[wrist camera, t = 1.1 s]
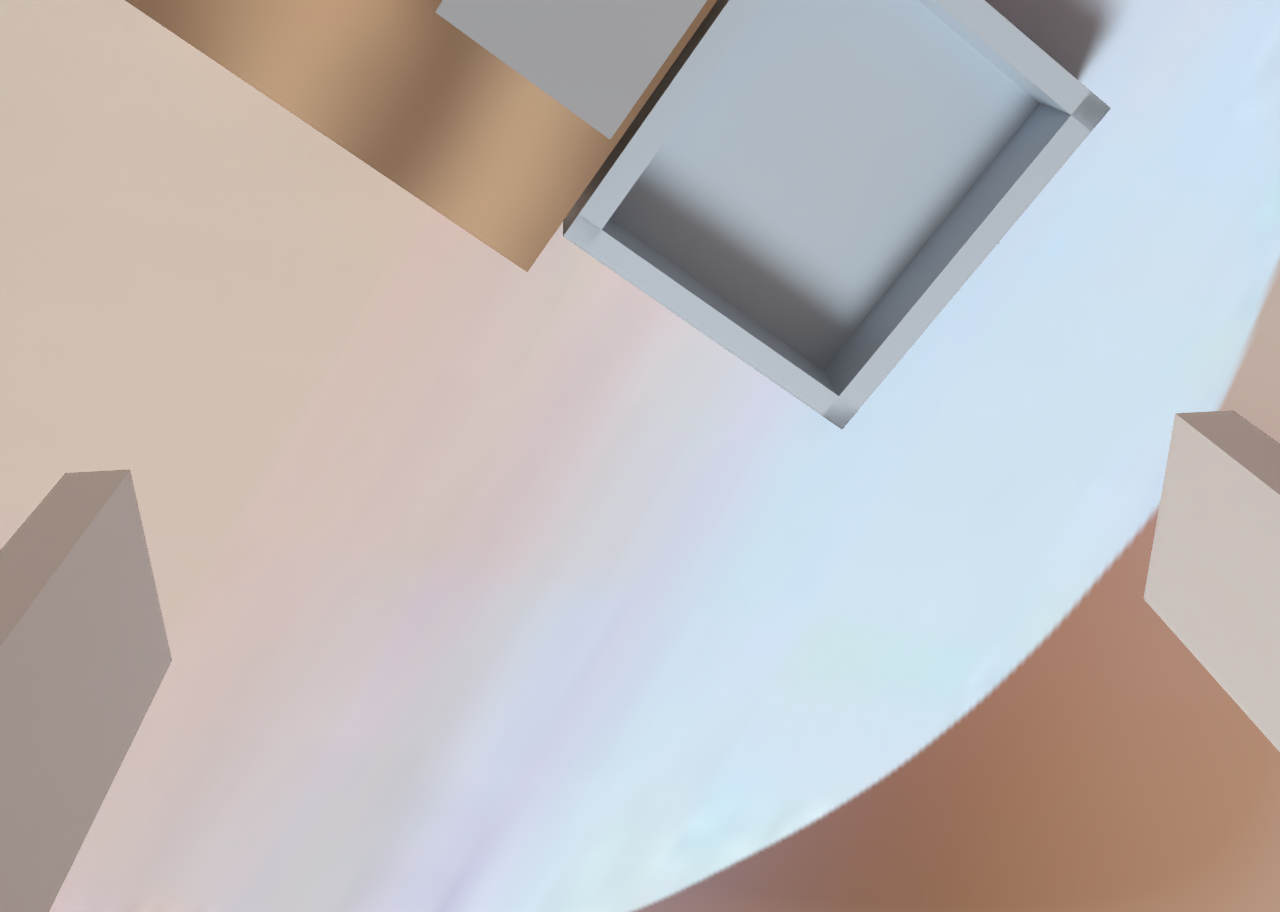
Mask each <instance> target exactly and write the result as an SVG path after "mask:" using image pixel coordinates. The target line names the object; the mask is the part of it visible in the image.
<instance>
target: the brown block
mask: <svg viewBox="0 0 1280 912" xmlns="http://www.w3.org/2000/svg"><path fill="white" fill-rule="evenodd" d="M125 1H127V2H128V3H130V4H131V5H133V6H134V7H136V8H137V9H139V10H140V11H142V12H143V13H145V14H146V15H148V16H149V17H151V18H152V19H154V20H155V21H157V22H158V23H160V24H161V25H162V26H164V27H165V28H167V29H168V30H170V31H171V32H173V33H174V34H176V35H177V36H179V37H180V38H182V39H183V40H185V41H186V42H188V43H189V44H191V45H192V46H194V47H195V48H197V49H198V50H199V51H201V52H202V53H204V54H205V55H207V56H208V57H210V58H211V59H213V60H214V61H216V62H217V63H219V64H220V65H222V66H223V67H225V68H226V69H228V70H229V71H231V72H232V73H233V74H235V75H236V76H238V77H239V78H241V79H242V80H244V81H245V82H247V83H248V84H250V85H251V86H253V87H254V88H256V89H257V90H259V91H260V92H262V93H263V94H265V95H266V96H268V97H269V98H270V99H272V100H273V101H275V102H276V103H278V104H279V105H281V106H282V107H284V108H285V109H287V110H288V111H290V112H291V113H293V114H294V115H296V116H297V117H299V118H300V119H302V120H303V121H304V122H306V123H307V124H309V125H310V126H312V127H313V128H315V129H316V130H318V131H319V132H321V133H322V134H324V135H325V136H327V137H328V138H330V139H331V140H333V141H334V142H336V143H337V144H339V145H340V146H341V147H343V148H344V149H346V150H347V151H349V152H350V153H352V154H353V155H355V156H356V157H358V158H359V159H361V160H362V161H364V162H365V163H367V164H368V165H370V166H371V167H373V168H374V169H376V170H377V171H378V172H380V173H381V174H383V175H384V176H386V177H387V178H389V179H390V180H392V181H393V182H395V183H396V184H398V185H399V186H401V187H402V188H404V189H405V190H407V191H408V192H410V193H411V194H412V195H414V196H415V197H417V198H418V199H420V200H421V201H423V202H424V203H426V204H427V205H429V206H430V207H432V208H433V209H435V210H436V211H438V212H439V213H441V214H442V215H444V216H445V217H447V218H448V219H449V220H451V221H452V222H454V223H455V224H457V225H458V226H460V227H461V228H463V229H464V230H466V231H467V232H469V233H470V234H472V235H473V236H475V237H476V238H478V239H479V240H481V241H482V242H484V243H485V244H486V245H488V246H489V247H491V248H492V249H494V250H495V251H497V252H498V253H500V254H501V255H503V256H504V257H506V258H507V259H509V260H510V261H512V262H513V263H515V264H516V265H518V266H519V267H520V268H522V269H523V270H525V271H526V272H528V270H529V269H530V268H531V266H532V265H533V263H534V262H535V260H536V259H537V257H538V256H539V255H540V253H541V252H542V250H543V249H544V247H545V246H546V245H547V243H548V242H549V240H550V239H551V237H552V236H553V235H554V233H555V232H556V230H557V229H558V227H559V226H560V225H561V223H562V222H563V220H564V219H565V217H566V216H567V215H568V213H569V212H570V210H571V209H572V207H573V206H574V205H575V203H576V202H577V200H578V199H579V197H580V196H581V195H582V193H583V192H584V190H585V189H586V187H587V186H588V185H589V183H590V182H591V180H592V179H593V177H594V176H595V175H596V173H597V172H598V170H599V169H600V167H601V166H602V165H603V163H604V162H605V160H606V159H607V157H608V156H609V155H610V153H611V152H612V150H613V149H614V147H615V146H616V145H617V143H618V142H619V140H620V139H621V137H622V136H623V135H624V133H625V132H626V130H627V129H628V127H629V126H630V125H631V123H632V122H633V120H634V119H635V117H636V116H637V115H638V113H639V112H640V110H641V109H642V107H643V106H644V105H645V103H646V102H647V100H648V99H649V97H650V96H651V95H652V93H653V92H654V90H655V89H656V87H657V86H658V85H659V83H660V82H661V80H662V79H663V77H664V76H665V75H666V73H667V72H668V70H669V69H670V67H671V66H672V65H673V63H674V62H675V60H676V59H677V57H678V56H679V55H680V53H681V52H682V50H683V49H684V47H685V46H686V45H687V43H688V42H689V40H690V39H691V37H692V36H693V35H694V33H695V32H696V30H697V29H698V27H699V26H700V25H701V23H702V22H703V20H704V19H705V17H706V16H707V15H708V13H709V12H710V10H711V9H712V7H713V6H714V5H715V3H716V2H717V0H707V2H706V3H705V4H704V6H703V7H702V9H701V10H700V12H699V13H698V14H697V16H696V17H695V19H694V20H693V22H692V23H691V24H690V26H689V27H688V29H687V30H686V32H685V33H684V35H683V36H682V37H681V39H680V40H679V42H678V43H677V45H676V46H675V47H674V49H673V50H672V52H671V53H670V55H669V56H668V57H667V59H666V60H665V62H664V63H663V65H662V66H661V68H660V69H659V70H658V72H657V73H656V75H655V76H654V78H653V79H652V80H651V82H650V83H649V85H648V86H647V88H646V89H645V90H644V92H643V93H642V95H641V96H640V98H639V99H638V101H637V102H636V103H635V105H634V106H633V108H632V109H631V111H630V112H629V113H628V115H627V116H626V118H625V119H624V121H623V122H622V123H621V125H620V126H619V128H618V129H617V131H616V132H615V134H614V135H613V136H612V138H611V139H608V138H607V137H606V136H604V135H603V134H602V133H600V132H599V131H597V130H596V129H595V128H593V127H592V126H591V125H589V124H588V123H586V122H585V121H584V120H582V119H581V118H580V117H578V116H577V115H575V114H574V113H573V112H571V111H570V110H569V109H567V108H566V107H564V106H563V105H562V104H560V103H559V102H558V101H556V100H555V99H554V98H552V97H551V96H549V95H548V94H547V93H545V92H544V91H543V90H541V89H540V88H538V87H537V86H536V85H534V84H533V83H532V82H530V81H529V80H527V79H526V78H525V77H523V76H522V75H521V74H519V73H518V72H516V71H515V70H514V69H512V68H511V67H510V66H508V65H507V64H506V63H504V62H503V61H501V60H500V59H499V58H497V57H496V56H495V55H493V54H492V53H490V52H489V51H488V50H486V49H485V48H484V47H482V46H481V45H479V44H478V43H477V42H475V41H474V40H473V39H471V38H470V37H468V36H467V35H466V34H464V33H463V32H462V31H460V30H459V29H457V28H456V27H455V26H453V25H452V24H451V23H449V22H448V21H447V20H445V19H444V18H442V17H441V16H440V15H438V14H437V13H436V10H437V9H438V7H439V5H440V4H441V2H442V1H443V0H125Z"/></svg>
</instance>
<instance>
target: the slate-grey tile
mask: <svg viewBox="0 0 1280 912" xmlns="http://www.w3.org/2000/svg"><path fill="white" fill-rule="evenodd" d="M706 2H707V0H443V1H442V2H441V4H440V5H439V7H438V9H437V10H436V13H437V14H438V15H440V16H441V17H442V18H444V19H445V20H447V21H448V22H449V23H451V24H452V25H453V26H455V27H456V28H457V29H459V30H460V31H462V32H463V33H464V34H466V35H467V36H468V37H470V38H471V39H473V40H474V41H475V42H477V43H478V44H479V45H481V46H482V47H484V48H485V49H486V50H488V51H489V52H490V53H492V54H493V55H495V56H496V57H497V58H499V59H500V60H501V61H503V62H504V63H506V64H507V65H508V66H510V67H511V68H512V69H514V70H515V71H516V72H518V73H519V74H521V75H522V76H523V77H525V78H526V79H527V80H529V81H530V82H532V83H533V84H534V85H536V86H537V87H538V88H540V89H541V90H543V91H544V92H545V93H547V94H548V95H549V96H551V97H552V98H554V99H555V100H556V101H558V102H559V103H560V104H562V105H563V106H564V107H566V108H567V109H569V110H570V111H571V112H573V113H574V114H575V115H577V116H578V117H580V118H581V119H582V120H584V121H585V122H586V123H588V124H589V125H591V126H592V127H593V128H595V129H596V130H597V131H599V132H600V133H602V134H603V135H604V136H606V137H607V138H608V139H611V138H612V136H613V135H614V134H615V132H616V131H617V129H618V128H619V126H620V125H621V123H622V122H623V121H624V119H625V118H626V116H627V115H628V113H629V112H630V111H631V109H632V108H633V106H634V105H635V103H636V102H637V101H638V99H639V98H640V96H641V95H642V93H643V92H644V90H645V89H646V88H647V86H648V85H649V83H650V82H651V80H652V79H653V78H654V76H655V75H656V73H657V72H658V70H659V69H660V68H661V66H662V65H663V63H664V62H665V60H666V59H667V57H668V56H669V55H670V53H671V52H672V50H673V49H674V47H675V46H676V45H677V43H678V42H679V40H680V39H681V37H682V36H683V35H684V33H685V32H686V30H687V29H688V27H689V26H690V24H691V23H692V22H693V20H694V19H695V17H696V16H697V14H698V13H699V12H700V10H701V9H702V7H703V6H704V4H705V3H706Z"/></svg>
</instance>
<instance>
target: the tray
mask: <svg viewBox="0 0 1280 912" xmlns="http://www.w3.org/2000/svg"><path fill="white" fill-rule="evenodd" d="M1110 109H1111V108H1110V107H1108V106H1107V105H1106V104H1105V103H1104V102H1103V101H1101V100H1100V99H1099V98H1098V97H1097V96H1096V95H1094V94H1093V93H1092V92H1091V91H1090V90H1089V89H1087V88H1086V87H1085V86H1084V85H1083V84H1082V83H1081V82H1079V81H1078V80H1077V79H1076V78H1075V77H1074V76H1072V75H1071V74H1070V73H1069V72H1068V71H1067V70H1065V69H1064V68H1063V67H1062V66H1061V65H1060V64H1058V63H1057V62H1056V61H1055V60H1054V59H1053V58H1051V57H1050V56H1049V55H1048V54H1047V53H1046V52H1044V51H1043V50H1042V49H1041V48H1040V47H1039V46H1037V45H1036V44H1035V43H1034V42H1033V41H1032V40H1030V39H1029V38H1028V37H1027V36H1026V35H1025V34H1023V33H1022V32H1021V31H1020V30H1019V29H1018V28H1016V27H1015V26H1014V25H1013V24H1012V23H1011V22H1009V21H1008V20H1007V19H1006V18H1005V17H1004V16H1002V15H1001V14H1000V13H999V12H998V11H997V10H995V9H994V8H993V7H992V6H991V5H990V4H988V3H987V2H986V1H985V0H717V2H716V3H715V5H714V6H713V7H712V9H711V10H710V12H709V13H708V15H707V16H706V17H705V19H704V20H703V22H702V23H701V25H700V26H699V27H698V29H697V30H696V32H695V33H694V35H693V36H692V37H691V39H690V40H689V42H688V43H687V45H686V46H685V47H684V49H683V50H682V52H681V53H680V55H679V56H678V57H677V59H676V60H675V62H674V63H673V65H672V66H671V67H670V69H669V70H668V72H667V73H666V75H665V76H664V77H663V79H662V80H661V82H660V83H659V85H658V86H657V87H656V89H655V90H654V92H653V93H652V95H651V96H650V97H649V99H648V100H647V102H646V103H645V105H644V106H643V107H642V109H641V110H640V112H639V113H638V115H637V116H636V117H635V119H634V120H633V122H632V123H631V125H630V126H629V127H628V129H627V130H626V132H625V133H624V135H623V136H622V137H621V139H620V140H619V142H618V143H617V145H616V146H615V147H614V149H613V150H612V152H611V153H610V155H609V156H608V157H607V159H606V160H605V162H604V163H603V165H602V166H601V167H600V169H599V170H598V172H597V173H596V175H595V176H594V177H593V179H592V180H591V182H590V183H589V185H588V186H587V187H586V189H585V190H584V192H583V193H582V195H581V196H580V197H579V199H578V200H577V202H576V203H575V205H574V206H573V207H572V209H571V210H570V212H569V213H568V215H567V216H566V217H565V219H564V220H563V237H565V238H566V239H568V240H569V241H571V242H572V243H574V244H575V245H576V246H578V247H579V248H581V249H582V250H584V251H585V252H587V253H588V254H589V255H591V256H592V257H594V258H595V259H597V260H598V261H600V262H601V263H602V264H604V265H605V266H607V267H608V268H610V269H611V270H613V271H614V272H615V273H617V274H618V275H620V276H621V277H623V278H624V279H626V280H627V281H628V282H630V283H631V284H633V285H634V286H636V287H637V288H639V289H640V290H641V291H643V292H644V293H646V294H647V295H649V296H650V297H651V298H653V299H654V300H656V301H657V302H659V303H660V304H662V305H663V306H664V307H666V308H667V309H669V310H670V311H672V312H673V313H675V314H676V315H677V316H679V317H680V318H682V319H683V320H685V321H686V322H688V323H689V324H690V325H692V326H693V327H695V328H696V329H698V330H699V331H701V332H702V333H703V334H705V335H706V336H708V337H709V338H711V339H712V340H714V341H715V342H716V343H718V344H719V345H721V346H722V347H724V348H725V349H727V350H728V351H729V352H731V353H732V354H734V355H735V356H737V357H738V358H740V359H741V360H742V361H744V362H745V363H747V364H748V365H750V366H751V367H753V368H754V369H755V370H757V371H758V372H760V373H761V374H763V375H764V376H766V377H767V378H768V379H770V380H771V381H773V382H774V383H776V384H777V385H779V386H780V387H781V388H783V389H784V390H786V391H787V392H789V393H790V394H792V395H793V396H794V397H796V398H797V399H799V400H800V401H802V402H803V403H805V404H806V405H807V406H809V407H810V408H812V409H813V410H815V411H816V412H818V413H819V414H820V415H822V416H823V417H825V418H826V419H828V420H829V421H831V422H832V423H833V424H835V425H836V426H838V427H839V428H841V429H843V428H844V427H845V425H846V424H847V423H848V422H849V421H850V419H851V418H852V417H853V416H854V415H855V413H856V412H857V411H858V410H859V409H860V408H861V406H862V405H863V404H864V403H865V402H866V400H867V399H868V398H869V397H870V396H871V394H872V393H873V392H874V391H875V390H876V388H877V387H878V386H879V385H880V384H881V382H882V381H883V380H884V379H885V378H886V376H887V375H888V374H889V373H890V372H891V370H892V369H893V368H894V367H895V366H896V364H897V363H898V362H899V361H900V360H901V358H902V357H903V356H904V355H905V354H906V352H907V351H908V350H909V349H910V348H911V347H912V345H913V344H914V343H915V342H916V341H917V339H918V338H919V337H920V336H921V335H922V333H923V332H924V331H925V330H926V329H927V327H928V326H929V325H930V324H931V323H932V321H933V320H934V319H935V318H936V317H937V315H938V314H939V313H940V312H941V311H942V309H943V308H944V307H945V306H946V305H947V303H948V302H949V301H950V300H951V299H952V297H953V296H954V295H955V294H956V293H957V292H958V290H959V289H960V288H961V287H962V286H963V284H964V283H965V282H966V281H967V280H968V278H969V277H970V276H971V275H972V274H973V272H974V271H975V270H976V269H977V268H978V266H979V265H980V264H981V263H982V262H983V260H984V259H985V258H986V257H987V256H988V254H989V253H990V252H991V251H992V250H993V248H994V247H995V246H996V245H997V244H998V242H999V241H1000V240H1001V239H1002V238H1003V236H1004V235H1005V234H1006V233H1007V232H1008V231H1009V229H1010V228H1011V227H1012V226H1013V225H1014V223H1015V222H1016V221H1017V220H1018V219H1019V217H1020V216H1021V215H1022V214H1023V213H1024V211H1025V210H1026V209H1027V208H1028V207H1029V205H1030V204H1031V203H1032V202H1033V201H1034V199H1035V198H1036V197H1037V196H1038V195H1039V193H1040V192H1041V191H1042V190H1043V189H1044V187H1045V186H1046V185H1047V184H1048V183H1049V181H1050V180H1051V179H1052V178H1053V177H1054V175H1055V174H1056V173H1057V172H1058V171H1059V170H1060V168H1061V167H1062V166H1063V165H1064V164H1065V162H1066V161H1067V160H1068V159H1069V158H1070V156H1071V155H1072V154H1073V153H1074V152H1075V150H1076V149H1077V148H1078V147H1079V146H1080V144H1081V143H1082V142H1083V141H1084V140H1085V138H1086V137H1087V136H1088V135H1089V134H1090V132H1091V131H1092V130H1093V129H1094V128H1095V126H1096V125H1097V124H1098V123H1099V122H1100V120H1101V119H1102V118H1103V117H1104V116H1105V115H1106V113H1107V112H1108V111H1109V110H1110Z"/></svg>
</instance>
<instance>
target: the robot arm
mask: <svg viewBox="0 0 1280 912" xmlns="http://www.w3.org/2000/svg"><path fill="white" fill-rule="evenodd" d="M1144 600H1145V601H1146V602H1147V603H1148V604H1149V605H1150V606H1151V607H1152V609H1153V610H1154V611H1155V612H1156V613H1157V614H1158V615H1159V616H1160V618H1161V619H1162V620H1163V621H1164V622H1165V623H1166V624H1167V626H1169V628H1170V629H1171V630H1172V631H1173V632H1174V633H1175V634H1176V636H1177V637H1178V638H1179V639H1180V640H1181V641H1182V642H1183V644H1184V645H1186V647H1187V648H1188V649H1189V650H1190V651H1191V653H1193V655H1194V656H1195V657H1196V658H1197V659H1198V660H1199V662H1200V663H1201V664H1202V665H1203V666H1204V667H1205V668H1206V670H1207V671H1208V672H1209V673H1210V674H1211V675H1212V676H1213V677H1214V679H1215V680H1216V681H1217V682H1218V683H1219V684H1220V685H1221V686H1222V688H1223V689H1224V690H1225V691H1226V692H1227V693H1228V694H1229V695H1230V696H1231V698H1232V699H1233V700H1234V701H1235V702H1236V703H1237V704H1238V706H1239V707H1240V708H1241V709H1242V710H1243V711H1244V712H1245V713H1246V715H1247V716H1248V717H1249V718H1250V719H1251V720H1252V721H1253V722H1254V723H1255V725H1256V726H1257V727H1258V728H1259V729H1260V730H1261V731H1262V733H1263V734H1264V735H1265V736H1266V737H1267V738H1268V739H1269V741H1271V743H1272V744H1273V745H1274V746H1275V747H1276V748H1277V750H1278V751H1279V752H1280V443H1278V442H1277V441H1275V440H1274V439H1273V438H1271V437H1270V436H1268V435H1267V434H1265V433H1264V432H1263V431H1261V430H1260V429H1258V428H1257V427H1256V426H1254V425H1253V424H1251V423H1250V422H1249V421H1247V420H1246V419H1244V418H1243V417H1242V416H1240V415H1239V414H1237V413H1236V412H1235V411H1215V412H1196V413H1178V414H1175V420H1174V426H1173V431H1172V437H1171V443H1170V449H1169V455H1168V460H1167V466H1166V472H1165V478H1164V484H1163V489H1162V495H1161V501H1160V507H1159V513H1158V518H1157V524H1156V530H1155V536H1154V542H1153V547H1152V554H1151V559H1150V566H1149V571H1148V577H1147V582H1146V588H1145V594H1144ZM171 661H172V659H171V654H170V649H169V645H168V640H167V636H166V631H165V627H164V622H163V618H162V613H161V608H160V604H159V599H158V595H157V590H156V586H155V581H154V577H153V572H152V567H151V563H150V558H149V554H148V549H147V545H146V540H145V536H144V531H143V526H142V522H141V517H140V513H139V508H138V504H137V499H136V495H135V490H134V485H133V481H132V476H131V472H130V470H116V471H97V472H78V473H65V474H64V476H63V477H62V478H61V479H60V480H59V481H58V483H57V484H56V485H55V486H54V487H53V489H52V490H51V491H50V492H49V493H48V495H47V496H46V497H45V498H44V499H43V500H42V502H41V503H40V504H39V505H38V506H37V508H36V509H35V510H34V511H33V512H32V514H31V515H30V516H29V517H28V518H27V519H26V521H25V522H24V523H23V524H22V525H21V527H20V528H19V529H18V530H17V531H16V532H15V534H14V535H13V536H12V537H11V538H10V540H9V541H8V542H7V543H6V544H5V546H4V547H3V548H2V549H1V550H0V912H49V910H50V908H51V906H52V904H53V902H54V900H55V898H56V896H57V894H58V892H59V890H60V888H61V886H62V884H63V882H64V880H65V878H66V876H67V874H68V872H69V870H70V868H71V866H72V863H73V861H74V859H75V857H76V855H77V853H78V851H79V849H80V847H81V845H82V843H83V841H84V839H85V837H86V835H87V833H88V831H89V829H90V827H91V825H92V823H93V821H94V818H95V816H96V814H97V812H98V810H99V808H100V806H101V804H102V802H103V800H104V798H105V796H106V794H107V792H108V790H109V788H110V786H111V784H112V782H113V780H114V778H115V776H116V773H117V771H118V769H119V767H120V765H121V763H122V761H123V759H124V757H125V755H126V753H127V751H128V749H129V747H130V745H131V743H132V741H133V739H134V737H135V735H136V733H137V731H138V728H139V726H140V724H141V722H142V720H143V718H144V716H145V714H146V712H147V710H148V708H149V706H150V704H151V702H152V700H153V698H154V696H155V694H156V692H157V690H158V688H159V686H160V683H161V681H162V679H163V677H164V675H165V673H166V671H167V669H168V667H169V665H170V663H171Z"/></svg>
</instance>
